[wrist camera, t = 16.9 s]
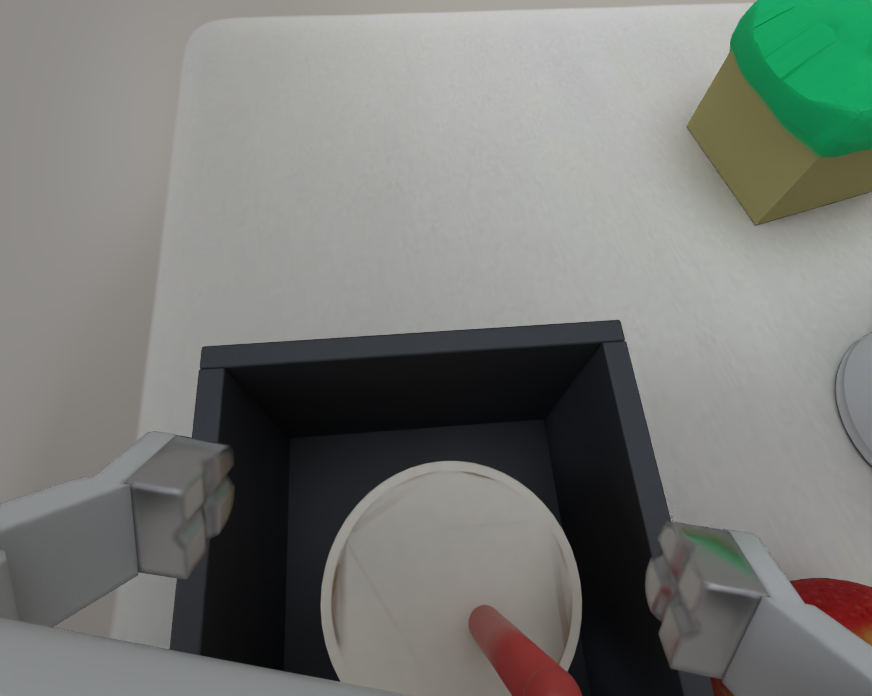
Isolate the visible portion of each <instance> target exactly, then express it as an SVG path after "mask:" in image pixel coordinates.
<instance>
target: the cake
mask: <svg viewBox="0 0 872 696" xmlns="http://www.w3.org/2000/svg"><path fill="white" fill-rule="evenodd" d="M687 128H688V129H689V130H690V132H691V133H692V135H693V136H694V138H695V139H696V140H697V142H698V143H699V145H700V146H701V148H702V149H703V150H704V152H705V153H706V155H707V156H708V158H709V159H710V161H711V162H712V163H713V165H714V166H715V168H716V169H717V171H718V172H719V173H720V175H721V176H722V178H723V179H724V181H725V182H726V183H727V185H728V186H729V188H730V189H731V191H732V192H733V193H734V195H735V196H736V198H737V199H738V201H739V202H740V203H741V205H742V206H743V208H744V209H745V211H746V212H747V213H748V215H749V216H750V218H751V219H752V221H753V222H754V223H755V225H758V224H761V223H765V222H768V221H772V220H775V219H778V218H782V217H785V216H789V215H792V214H796V213H799V212H803V211H806V210H809V209H813V208H816V207H820V206H823V205H827V204H830V203H834V202H837V201H840V200H844V199H847V198H851V197H854V196H858V195H861V194H865V193H868V192H870V191H872V0H757V1H756V2H755V3H754V4H753V5H752V6H751V7H750V8H749V10H748V11H747V12H746V13H745V14H744V16H743V17H742V18H741V19H740V21H739V23H738V25H737V27H736V29H735V31H734V33H733V35H732V38H731V42H730V52H729V54H728V56H727V58H726V60H725V61H724V63H723V65H722V67H721V68H720V70H719V72H718V73H717V75H716V77H715V79H714V80H713V82H712V84H711V86H710V87H709V89H708V91H707V92H706V94H705V96H704V98H703V99H702V101H701V103H700V104H699V106H698V108H697V110H696V111H695V113H694V115H693V116H692V118H691V120H690V122H689V123H688V125H687Z"/></svg>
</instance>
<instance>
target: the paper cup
mask: <svg viewBox="0 0 872 696" xmlns="http://www.w3.org/2000/svg"><path fill="white" fill-rule="evenodd" d="M581 619H582V594H581V584H580V578H579V573H578V568H577V564H576V561H575V558H574V555H573V552H572V549H571V546H570V544H569V542H568V540H567V538H566V536H565V533H564V531H563V530H562V528H561V526H560V525H559V523H558V522H557V520H556V518H555V517H554V515H553V514H552V513H551V512H550V510H549V509H548V508H547V507H546V506H545V504H544V503H543V502H542V501H541V500H540V499H539V498H538V497H537V496H536V495H535V494H534V493H533V492H532V491H530V490H529V489H528V488H526V487H525V486H524V485H522V484H521V483H520V482H518V481H517V480H515V479H513V478H512V477H510V476H508V475H506V474H505V473H502V472H500V471H498V470H495V469H493V468H490V467H487V466H483V465H480V464H476V463H470V462H462V461H439V462H432V463H426V464H422V465H419V466H415V467H411V468H409V469H407V470H404V471H402V472H400V473H397V474H395V475H394V476H392V477H390V478H389V479H387V480H385V481H384V482H382V483H381V484H379V485H378V486H377V487H376V488H374V489H373V490H372V491H370V492H369V493H368V494H367V495H366V496H365V497H364V498H363V499H362V500H361V501H360V502H359V503H358V504H357V505H356V507H355V508H354V509H353V511H352V512H351V513H350V515H349V516H348V517H347V518H346V520H345V522H344V523H343V525H342V527H341V529H340V530H339V532H338V534H337V536H336V538H335V540H334V543H333V545H332V547H331V550H330V552H329V556H328V559H327V562H326V566H325V570H324V575H323V581H322V587H321V621H322V629H323V634H324V639H325V644H326V648H327V651H328V654H329V657H330V660H331V663H332V665H333V667H334V669H335V671H336V673H337V676H338V678H339V680H340V682H344V683H349V684H354V685H359V686H365V687H370V688H375V689H381V690H386V691H391V692H397V693H402V694H407V695H412V696H582V693H581V691H580V688H579V686H578V684H577V683H576V681H575V680H574V678H573V677H572V676H571V675H570V674H569V673H568V669H569V667H570V664H571V662H572V660H573V657H574V654H575V650H576V646H577V643H578V639H579V633H580V626H581Z"/></svg>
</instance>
